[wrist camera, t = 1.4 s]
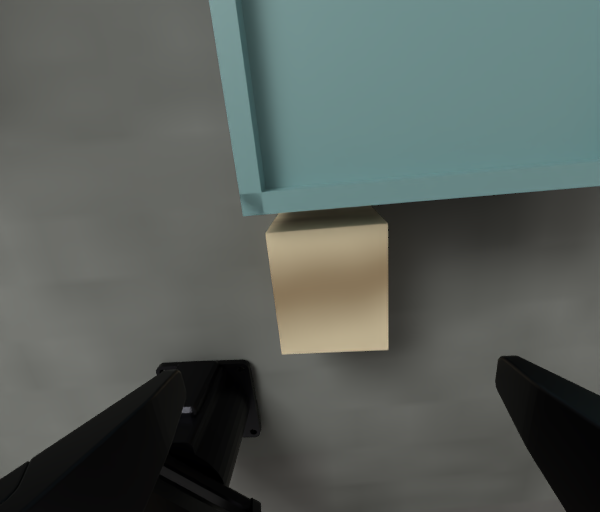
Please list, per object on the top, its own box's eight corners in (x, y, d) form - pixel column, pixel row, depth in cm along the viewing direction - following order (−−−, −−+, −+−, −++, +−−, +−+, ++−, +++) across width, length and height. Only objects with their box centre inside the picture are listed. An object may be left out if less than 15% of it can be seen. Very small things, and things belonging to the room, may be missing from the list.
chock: (371, 300, 19) (388, 349, 14) (291, 304, 19) (282, 354, 14) (368, 203, 17) (387, 223, 12) (280, 211, 17) (265, 233, 13)
